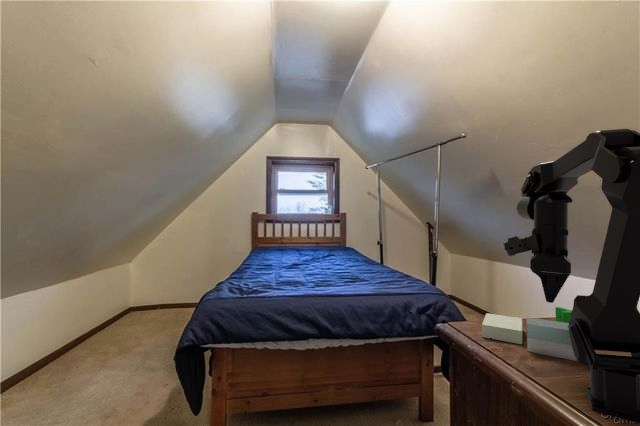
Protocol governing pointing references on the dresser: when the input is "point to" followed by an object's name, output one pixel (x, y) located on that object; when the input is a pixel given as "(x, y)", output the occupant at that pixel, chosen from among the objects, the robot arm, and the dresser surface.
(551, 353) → the grey-blue rectangular block
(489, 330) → the sage stand
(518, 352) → the dresser surface
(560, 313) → the pipe clamp
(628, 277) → the robot arm
